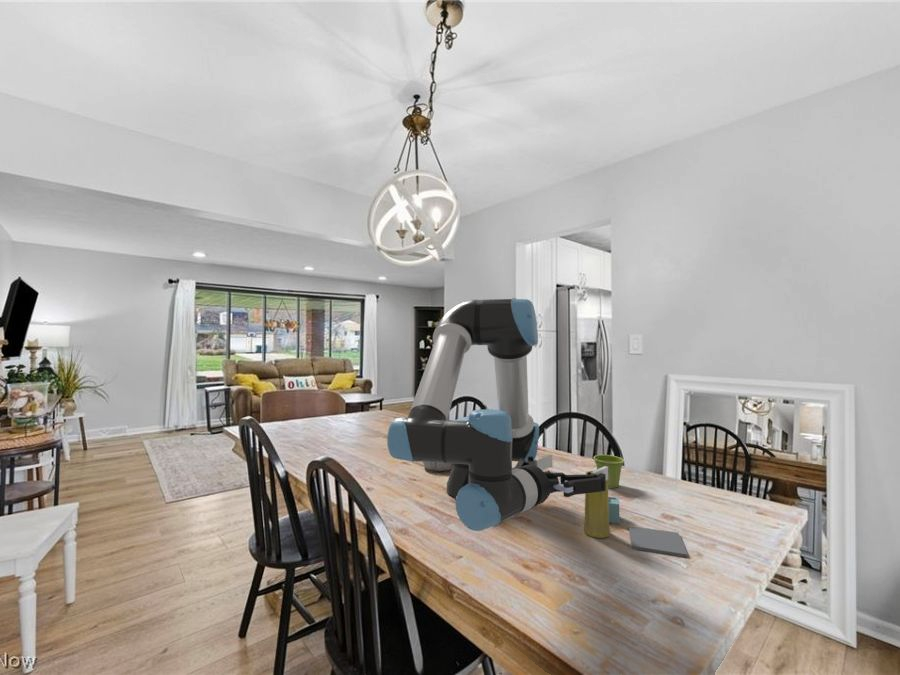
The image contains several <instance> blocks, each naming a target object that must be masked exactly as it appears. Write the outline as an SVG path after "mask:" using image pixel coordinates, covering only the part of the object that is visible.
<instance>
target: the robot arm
mask: <svg viewBox="0 0 900 675" xmlns="http://www.w3.org/2000/svg"><path fill="white" fill-rule="evenodd" d="M536 315H537V314H536V311H535V306H534V304H533V302H532V301H531V300H530V299H527V298H516V297H512V298H504V299H503V298H501V299H499V298H497V299H469V300H465V301H463V302H460V303H459V304H457V305H455V306H453V307H452V308H451V309H450V310H449V311H447V312H446V313H445V314H444V315H443V316H442V318H441V319H440V320H439V321H438V322H437V324H436V326H435V329H434V332H433V334H432V341H433V342H432V343H433V346H432V349H431V351H430V355H429V358H428V360H427V363H426V366H425V368H424V371H423V374H422V376H421V380H420V382H419V386H418V388H417V390H416V394H415V396H414V399H413V401H412V405H411V406H410V407H411V408H410V411H409V412H408V415H407V417H404V416H403V417H396V418H394V419H393V420H392V421H391V423H390V424H389V428H388V431H387V438H386V439H387V440H386V443H387V449H388V453H389V455H390V456H391V458H393V459H396V460H402V461H408V462H412V463H414V462H422V461H423V462H441V463H452V469H451V470H450V473H449V476H448V480H447V481H446V493H447V494H448V495H449V496H451V497H454V498H455V501H454V502H455V505H454V506H455V511H456V514H457V516H458V518H459V520H460V522H461V523H462V524H463V525H464V526H465V527H466V528H467V529H469V530H471V531H474V532H481V531H484V530H488V529H489V528H494V527H497V526H498V525H499V524H501V523H503V522H505V521H507V520H508V519H510V518H512V517H515V516H517V515H519V514H521V513H524V512H525V511H527V510H530V509H533V508H535V507H537V506H539V505H542V504H543V503H545V502H546V501H547V499H548V498H549V496H550V494H553V493H556V492H558V493H559V492H561V493H562V492H563V497H566V498H570V497H572V496H577V495H585V493H593V492H601V491H606V480H608V467H606V466H604V467H602V468H599V469H597V468H596V469H595V470H592V471H593V472H591V474H586V473H585V474H565V473H564V472H563V471H562V472H552V471H549V470H548V471H544V470H547V469H550V468H552V467H553V454H547V455H545V456H541V457H538V458H536V457H537V453H538V449H539V436H540V425H539V423H537V422H535V421H534V419H533V417H532V415H531V414H529V389H528V384H529V383H528V360H527V359H528V358H527V356H528V355H529V354H530V353H531V352H532V350H533V346H537V344H538V343H539V342H538V341H539V334H538V333H539V331H538V326H537V325H538V324H537V316H536ZM472 346H486V347H487V352H488V354H490V356H491V357H493V360H494V371H495V372H494V374H495V384H496V393H497V394H496V395H497V407H498V408H497V409H490V408H487V409H475V410H472V411H470V412H469V415H468V416H463V417H459V418H458V419H457V418H456V419H455V420H454V419H453V420H452V419H449V416H450V411H451V408H452V403H453V400H454V396H455V391H456V388H457V383H458V380H459V377H460V376H459V375H460V373H461V369H462V365H463V360H464V356H465V354H466V353H467V352H468V351H469V350H470V348H471V347H472ZM423 462H422V463H423ZM513 462H516V464H515V466H514V467H513ZM559 478H560V480H559Z"/></svg>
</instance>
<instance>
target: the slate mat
mask: <svg viewBox="0 0 900 675" xmlns="http://www.w3.org/2000/svg"><path fill="white" fill-rule="evenodd" d="M628 532H629V539H630V545H631V549H633V550H639V551H645V552H651V553H659V554H664V555H669V556H675V557H676V556H677V557H682V558H688V553H687V550H686V547H685V545H684V542H683V541H682V538H681V535H680V533H679V532H677V531H668V530H661V529H654V528H647V527H640V526H633V525H629V526H628Z"/></svg>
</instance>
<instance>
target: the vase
mask: <svg viewBox="0 0 900 675" xmlns="http://www.w3.org/2000/svg"><path fill="white" fill-rule="evenodd" d="M593 471H594V470H589V471H586V472H585V474H591V472H593ZM608 497H609V488H608V480H606V491H601V492H593V493H585V494H584V528H583V532H584V534H586V535H587V536H589V537H591V538H595V539H606V538H609V537H610V536H611V530H610V529H611V528H610V522H609V500H608Z"/></svg>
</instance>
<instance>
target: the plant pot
mask: <svg viewBox="0 0 900 675" xmlns="http://www.w3.org/2000/svg"><path fill="white" fill-rule="evenodd" d="M593 460H594V463H595V466H596V467H595V468H596V470H597V469H599V468H602V467H604V466H606V467H608V489H609V488H611V489H615V488H616V487H619V486H620V485H619V484H620V478H621V477H620V476H621V471H622V468H623V464H624V463H625V459H623V458H622V457H619V456H615V455H611V454H610V455H609V454H596V455H594V456H593Z"/></svg>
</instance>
